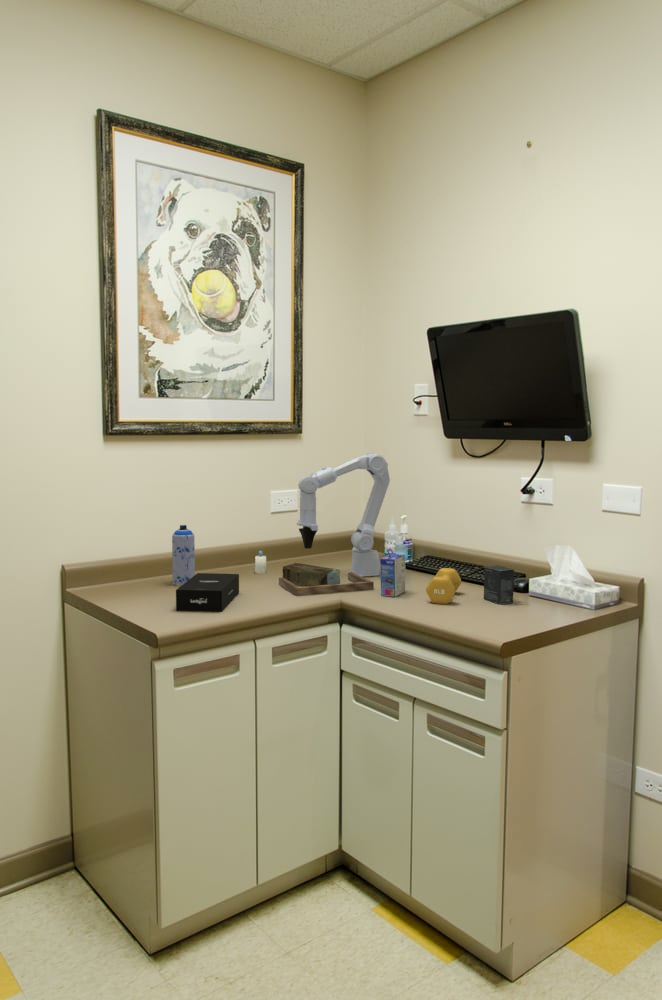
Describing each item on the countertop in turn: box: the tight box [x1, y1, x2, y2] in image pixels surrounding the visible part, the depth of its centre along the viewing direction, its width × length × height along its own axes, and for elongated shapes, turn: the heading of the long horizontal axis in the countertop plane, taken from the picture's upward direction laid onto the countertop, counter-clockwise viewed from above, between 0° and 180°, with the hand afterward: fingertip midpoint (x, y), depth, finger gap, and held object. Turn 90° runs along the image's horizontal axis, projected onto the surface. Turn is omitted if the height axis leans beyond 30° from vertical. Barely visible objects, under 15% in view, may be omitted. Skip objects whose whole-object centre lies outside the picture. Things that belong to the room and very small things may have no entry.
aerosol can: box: [171, 524, 196, 587], centre depth 259 cm, size 8×8×20 cm
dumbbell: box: [425, 567, 462, 605], centre depth 240 cm, size 19×9×8 cm, turn 163°
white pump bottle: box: [254, 550, 267, 575], centre depth 279 cm, size 4×4×8 cm
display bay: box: [278, 571, 375, 597], centre depth 255 cm, size 27×18×2 cm, turn 112°
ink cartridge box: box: [379, 548, 406, 598], centre depth 246 cm, size 10×6×14 cm, turn 155°
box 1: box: [175, 572, 240, 613], centre depth 234 cm, size 25×14×7 cm, turn 175°
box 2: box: [483, 564, 515, 605], centre depth 236 cm, size 8×6×11 cm
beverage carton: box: [282, 562, 341, 587], centre depth 259 cm, size 8×19×7 cm, turn 56°
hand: (307, 548), depth 271 cm, fingers closed
